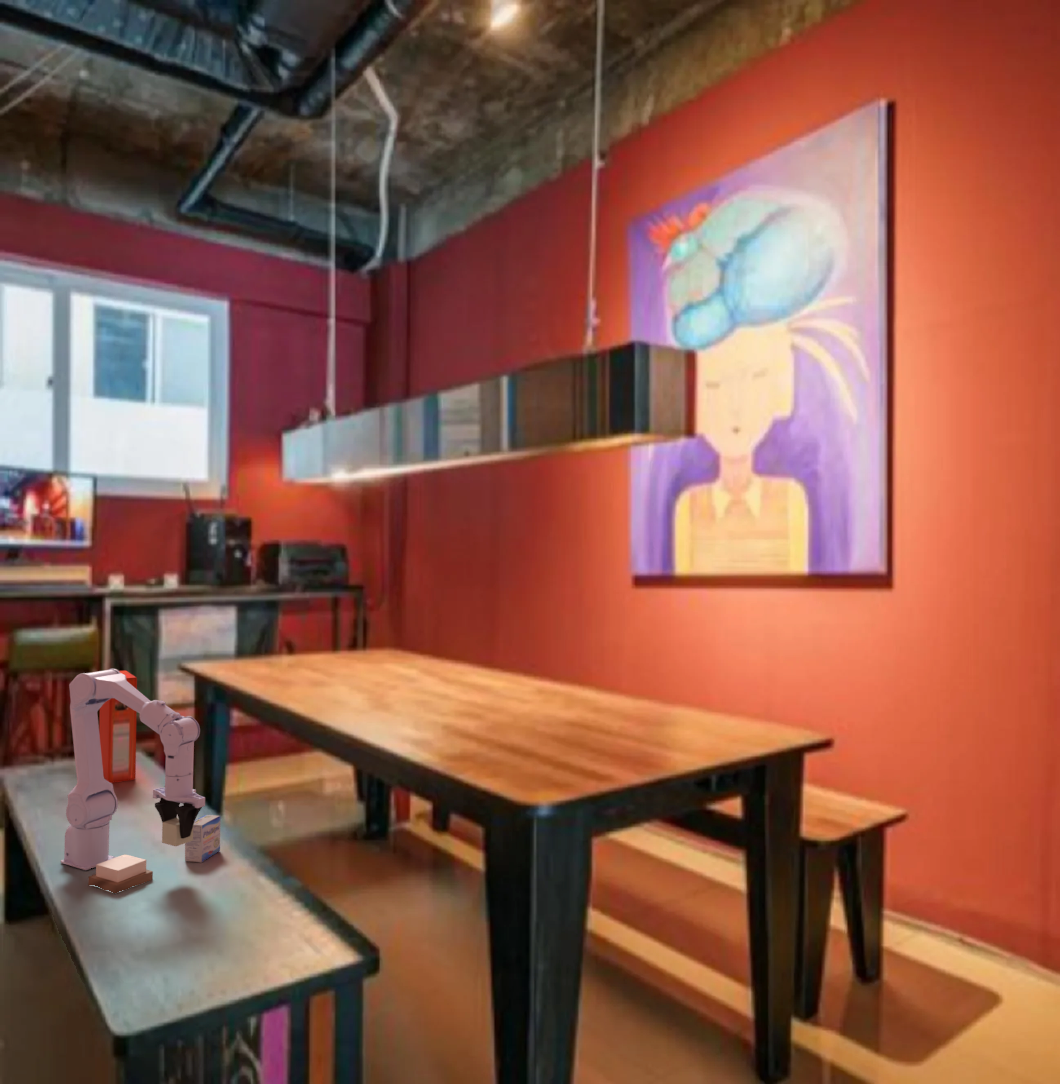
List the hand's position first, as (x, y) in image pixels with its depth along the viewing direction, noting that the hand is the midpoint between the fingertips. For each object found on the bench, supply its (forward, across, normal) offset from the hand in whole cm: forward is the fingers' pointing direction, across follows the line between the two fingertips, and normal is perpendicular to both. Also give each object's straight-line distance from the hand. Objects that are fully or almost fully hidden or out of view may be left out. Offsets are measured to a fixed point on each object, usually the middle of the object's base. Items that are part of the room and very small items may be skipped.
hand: (177, 835), depth 185 cm
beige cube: (+1, 0, 0) cm, 1 cm away
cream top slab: (+8, +8, +8) cm, 13 cm away
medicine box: (+10, +5, -12) cm, 16 cm away
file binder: (+10, +85, -46) cm, 98 cm away
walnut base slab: (+10, +8, +8) cm, 15 cm away
